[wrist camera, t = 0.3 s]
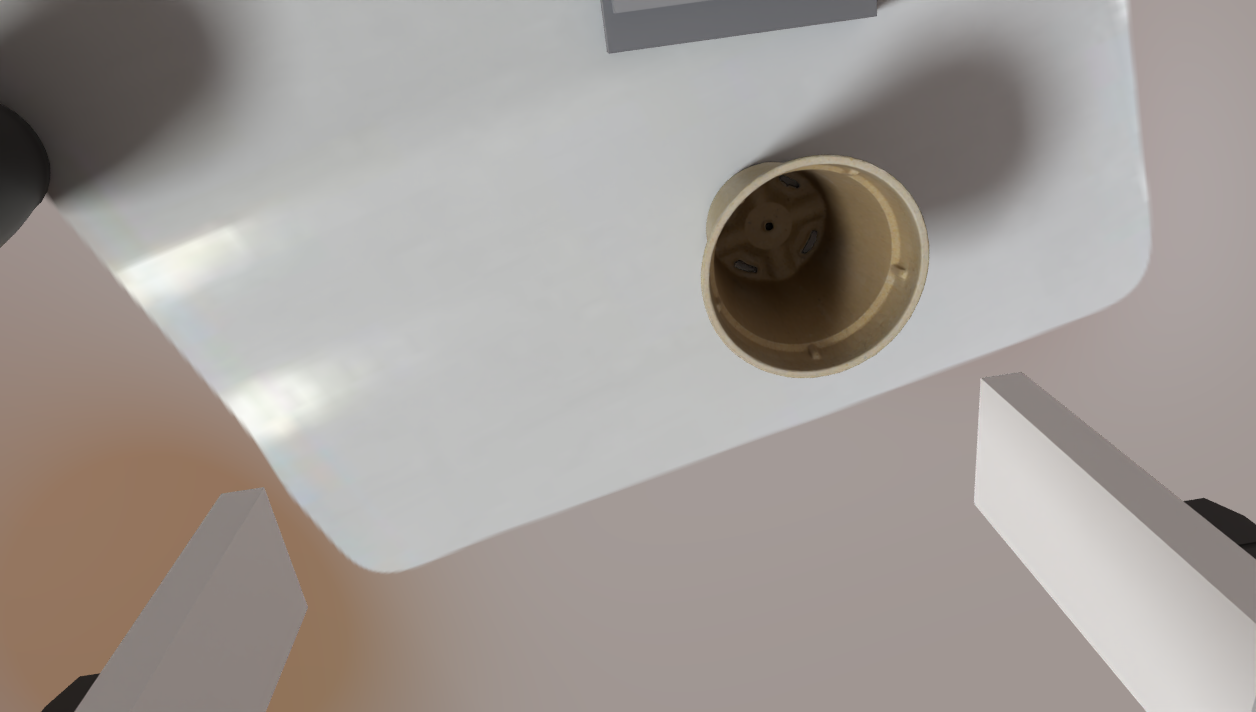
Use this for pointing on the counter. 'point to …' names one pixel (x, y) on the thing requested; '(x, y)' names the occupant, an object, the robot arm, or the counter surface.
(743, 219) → the flower pot
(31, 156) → the mug
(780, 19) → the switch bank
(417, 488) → the counter surface
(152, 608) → the robot arm
